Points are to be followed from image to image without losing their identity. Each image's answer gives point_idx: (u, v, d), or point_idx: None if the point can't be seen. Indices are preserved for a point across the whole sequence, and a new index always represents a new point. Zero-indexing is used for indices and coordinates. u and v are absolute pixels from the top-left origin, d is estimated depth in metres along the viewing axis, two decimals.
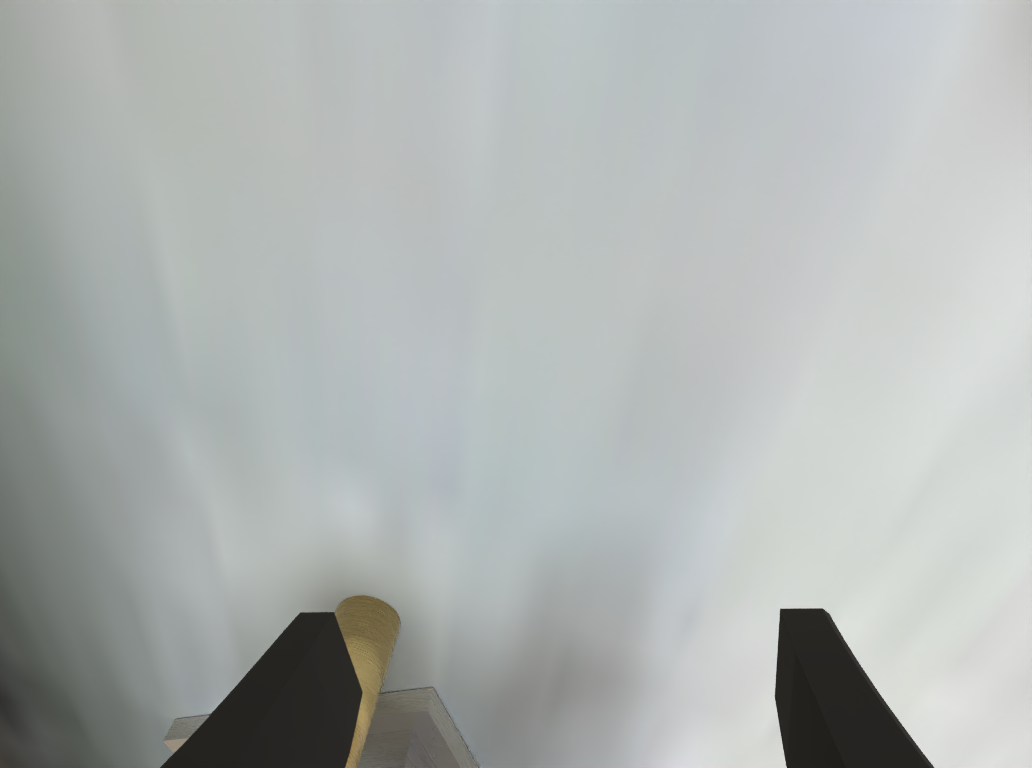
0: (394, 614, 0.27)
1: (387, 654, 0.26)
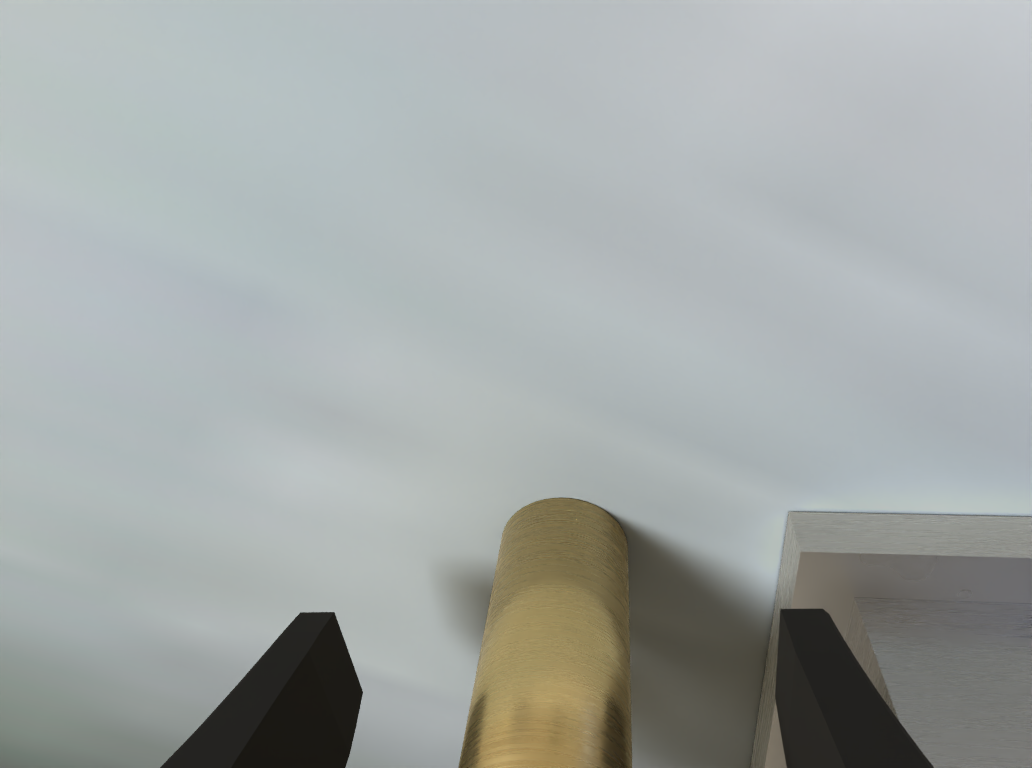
0: (551, 503, 0.14)
1: (565, 561, 0.12)
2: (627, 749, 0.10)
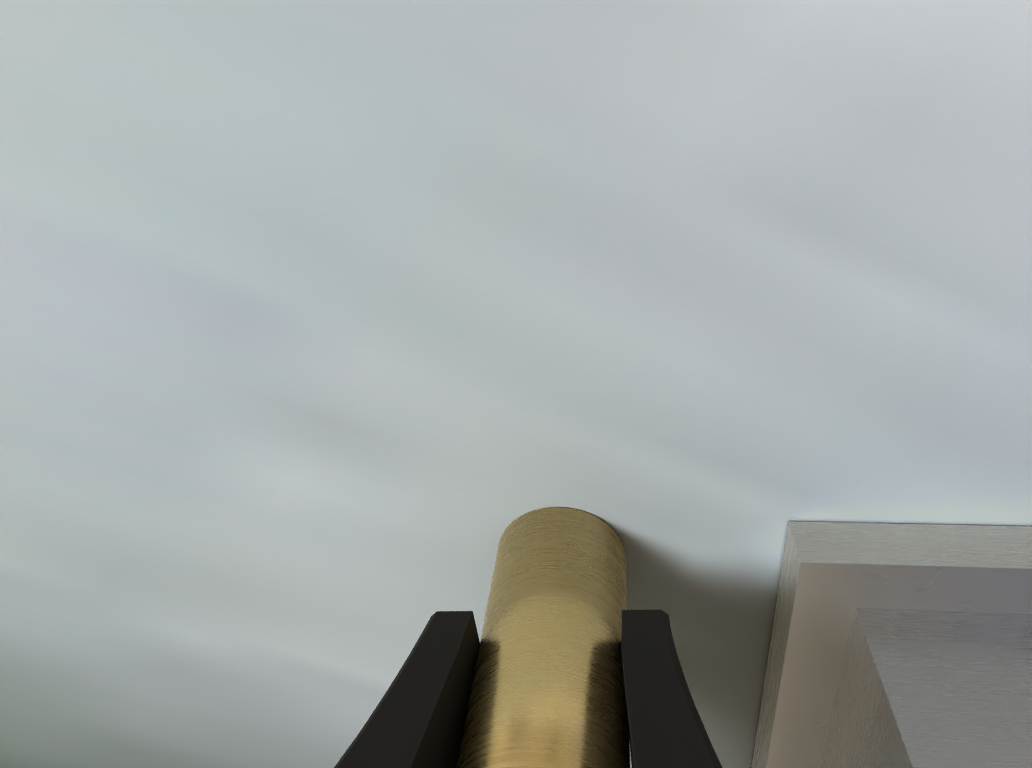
0: (548, 512, 0.13)
1: (562, 572, 0.12)
2: (625, 766, 0.10)
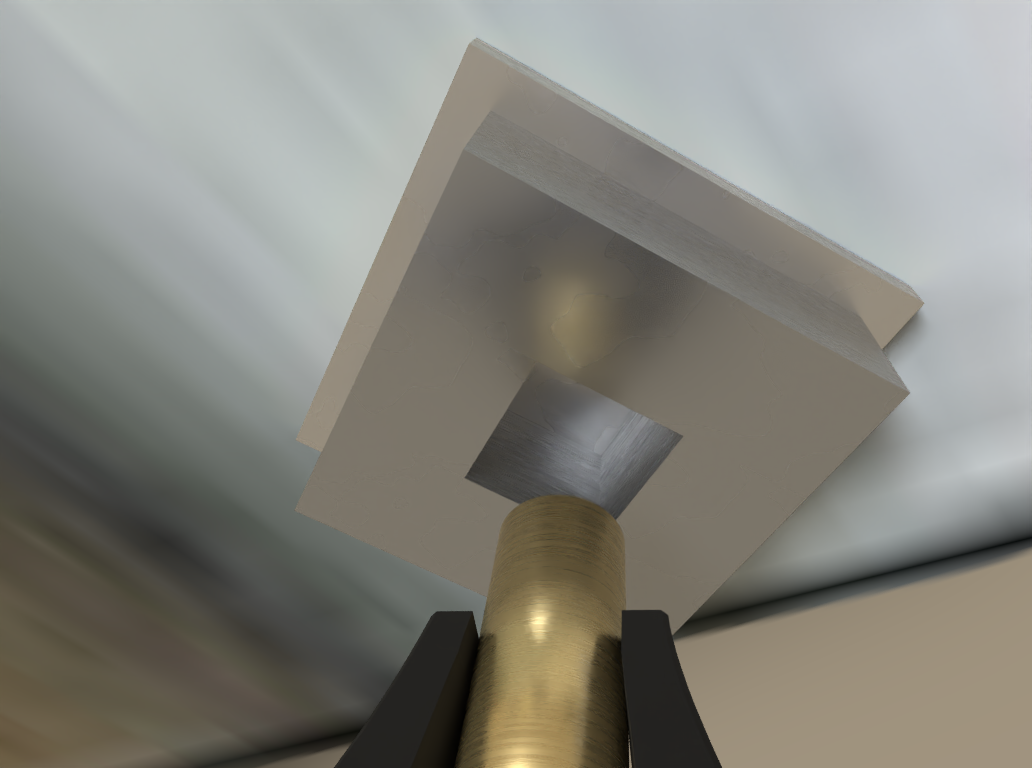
0: (540, 500, 0.14)
1: (553, 556, 0.12)
2: (620, 737, 0.10)
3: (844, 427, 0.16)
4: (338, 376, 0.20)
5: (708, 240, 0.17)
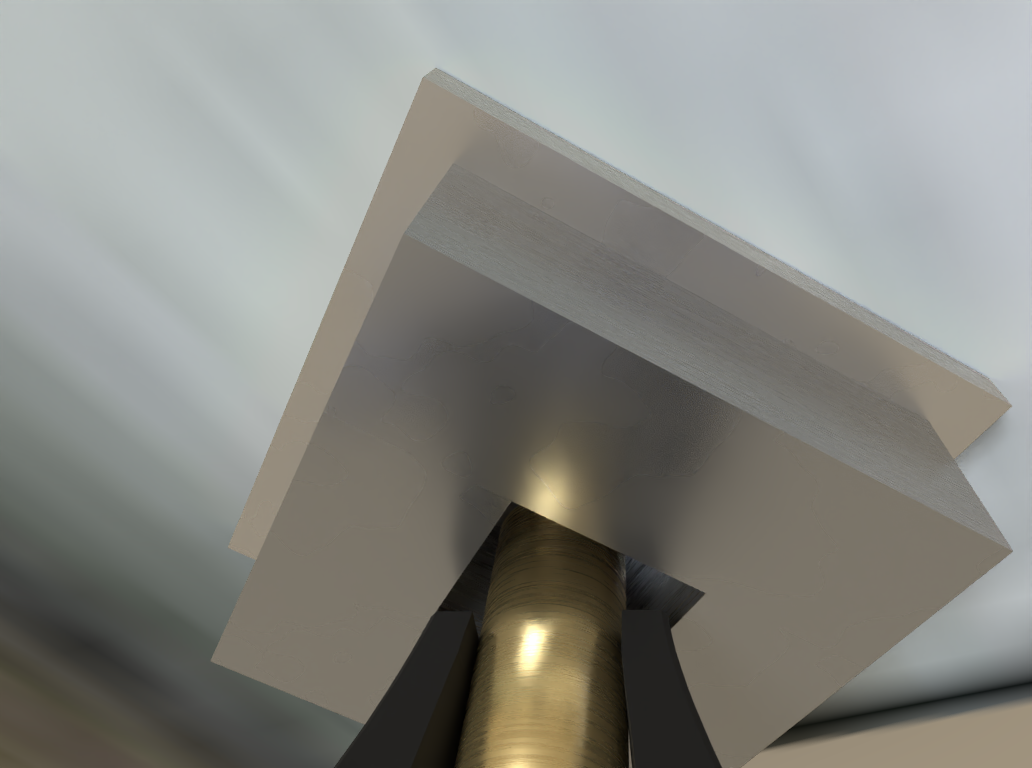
0: None
1: (553, 556, 0.12)
2: (620, 737, 0.10)
3: (920, 589, 0.12)
4: (274, 478, 0.17)
5: (737, 331, 0.13)
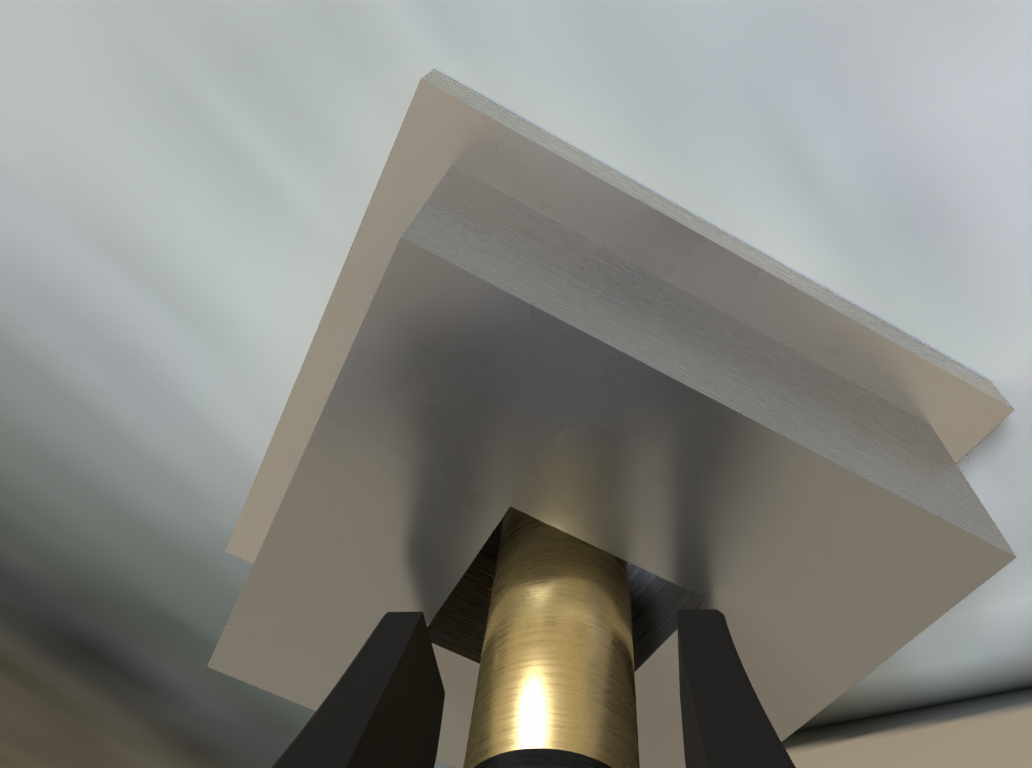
0: None
1: None
2: (626, 633, 0.12)
3: (923, 595, 0.12)
4: (272, 481, 0.17)
5: (737, 334, 0.13)
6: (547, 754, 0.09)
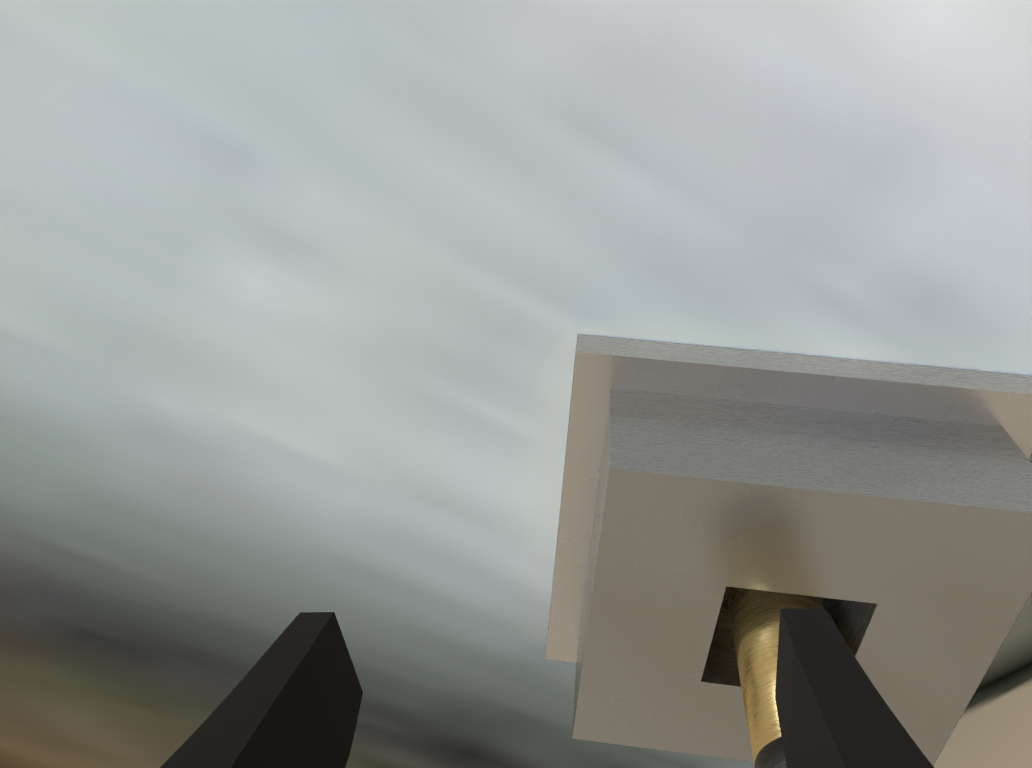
0: None
1: None
2: None
3: (1024, 558, 0.17)
4: (562, 604, 0.24)
5: (832, 424, 0.19)
6: None
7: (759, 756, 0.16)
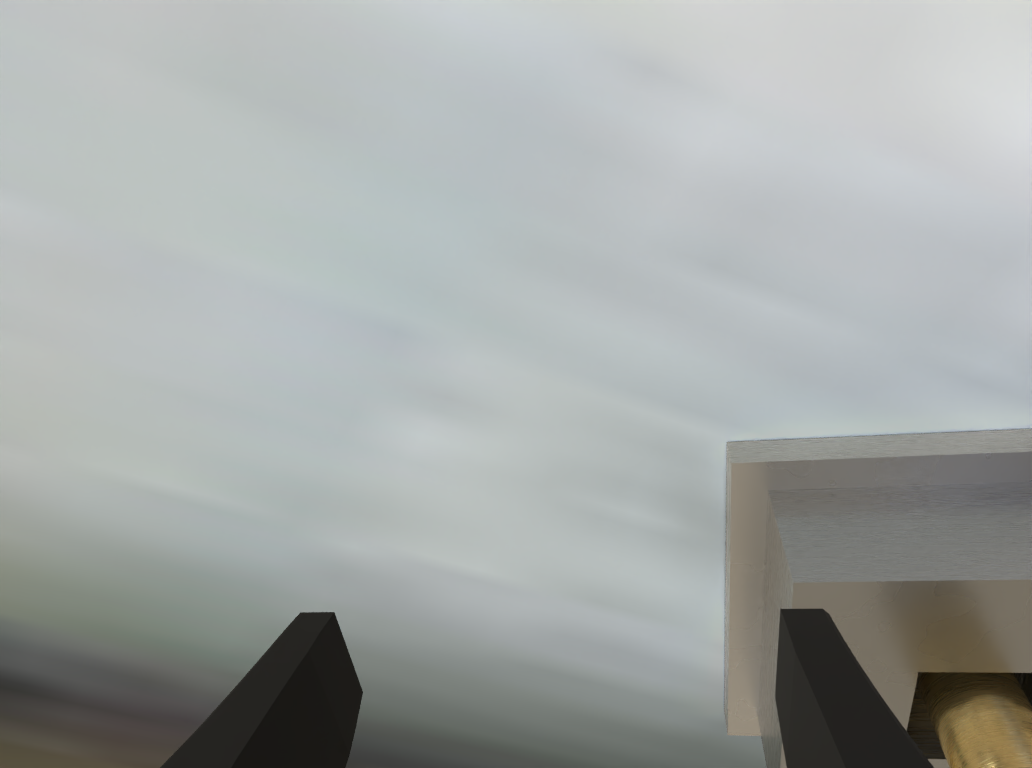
0: None
1: None
2: (1031, 721, 0.18)
3: None
4: (739, 685, 0.25)
5: (996, 500, 0.19)
6: None
7: None
